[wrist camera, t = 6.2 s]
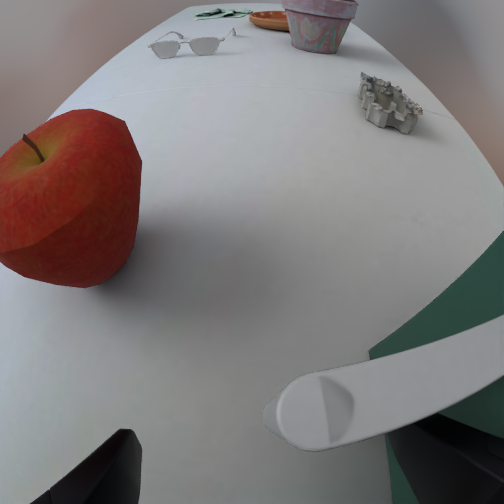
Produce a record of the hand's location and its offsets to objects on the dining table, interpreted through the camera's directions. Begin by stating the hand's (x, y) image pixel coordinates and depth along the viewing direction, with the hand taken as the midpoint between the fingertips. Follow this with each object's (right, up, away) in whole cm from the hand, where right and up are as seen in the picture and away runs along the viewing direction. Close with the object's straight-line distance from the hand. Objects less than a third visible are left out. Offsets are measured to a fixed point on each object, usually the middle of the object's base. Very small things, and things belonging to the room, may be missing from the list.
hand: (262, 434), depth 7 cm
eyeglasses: (-12, +50, +43) cm, 67 cm away
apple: (-12, +5, +13) cm, 18 cm away
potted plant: (+12, +49, +42) cm, 66 cm away
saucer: (+10, +69, +55) cm, 89 cm away
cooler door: (+5, -8, +5) cm, 10 cm away
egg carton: (+18, +24, +26) cm, 40 cm away
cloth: (-12, +89, +68) cm, 113 cm away
